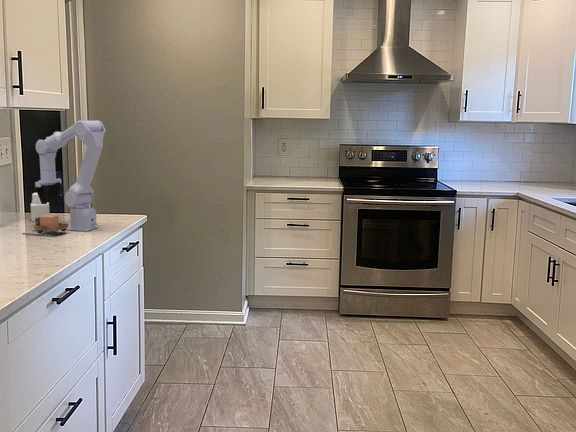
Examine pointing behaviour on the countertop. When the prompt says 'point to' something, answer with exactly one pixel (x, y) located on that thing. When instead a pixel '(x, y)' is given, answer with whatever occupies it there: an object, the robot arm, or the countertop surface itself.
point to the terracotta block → (49, 220)
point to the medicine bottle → (38, 207)
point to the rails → (40, 234)
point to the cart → (47, 228)
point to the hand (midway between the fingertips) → (49, 202)
